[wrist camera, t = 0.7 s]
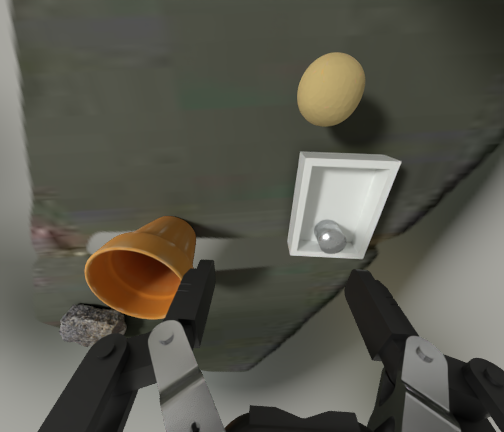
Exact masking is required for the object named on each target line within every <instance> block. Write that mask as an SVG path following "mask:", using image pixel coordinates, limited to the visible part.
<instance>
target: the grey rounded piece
mask: <svg viewBox="0 0 504 432" xmlns="http://www.w3.org/2000/svg"><path fill="white" fill-rule="evenodd" d="M314 234H315V237H316V239H317V241H318V244H319V246H320V249H321V250H322V251H323V252H324V253H327V254H335V253H338V252H340V251H342V250H343V249H344V248H345V246H346V244H347V240H346V238H345V236H344V234H343V233H342V231H341V230H340V228H339V227H338V225H337V224H336V222H334V221H333V220H329V219H326V220H322V221H320V222H318V223H317V224H316V225H315V227H314Z"/></svg>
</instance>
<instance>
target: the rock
mask: <svg viewBox="0 0 504 432" xmlns="http://www.w3.org/2000/svg"><path fill="white" fill-rule="evenodd" d="M60 321H61V326H60V327H61V328H60V331H59V333H60V334H61V335H62V339H63V340H64V341H67V342H76V343H78V344H80V345H83V346H86V347H88V346H93V345H94V344H95V343H96V342H97V341H98V340H100V339H101V338H103V337H105V336H107V335H109V334H113V333H120V334H122V335H124V334H125V332H126V329H127V325H126V323H125V322H124V315H122V314H121V313H119V311H117V310H115V309H111V310H106V309H99V308H95V307H93V306H88V305H83V304H80V305H74V304H73V306H72V307H71V308H70V310H69V311H68V312H67V313H66V314H65V315H64V316H63V317H62V319H61V320H60Z"/></svg>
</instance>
